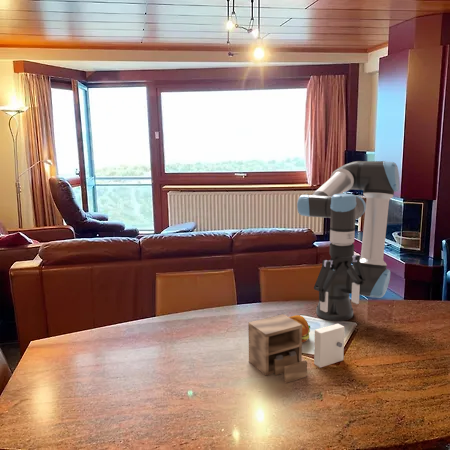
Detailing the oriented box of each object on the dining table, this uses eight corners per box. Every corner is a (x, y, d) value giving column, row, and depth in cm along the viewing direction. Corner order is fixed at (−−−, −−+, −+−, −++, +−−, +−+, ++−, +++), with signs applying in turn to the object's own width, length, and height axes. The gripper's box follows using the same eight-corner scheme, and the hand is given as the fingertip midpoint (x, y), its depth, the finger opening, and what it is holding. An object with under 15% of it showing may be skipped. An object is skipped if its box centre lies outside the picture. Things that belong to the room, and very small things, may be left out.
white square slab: (314, 363, 147) (314, 329, 145) (337, 356, 152) (338, 323, 149) (322, 369, 143) (323, 334, 141) (345, 361, 148) (347, 328, 146)
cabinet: (248, 361, 149) (248, 322, 147) (283, 351, 156) (283, 313, 153) (277, 385, 134) (278, 342, 132) (314, 373, 141) (315, 332, 138)
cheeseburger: (308, 331, 171) (310, 310, 166) (311, 350, 161) (312, 328, 157) (282, 330, 172) (283, 309, 167) (282, 349, 162) (283, 327, 158)
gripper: (319, 250, 131) (317, 318, 135) (379, 240, 143) (376, 302, 147) (303, 245, 137) (302, 310, 141) (361, 236, 149) (359, 296, 153)
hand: (339, 306), depth 144 cm, fingers open, 13 cm apart
